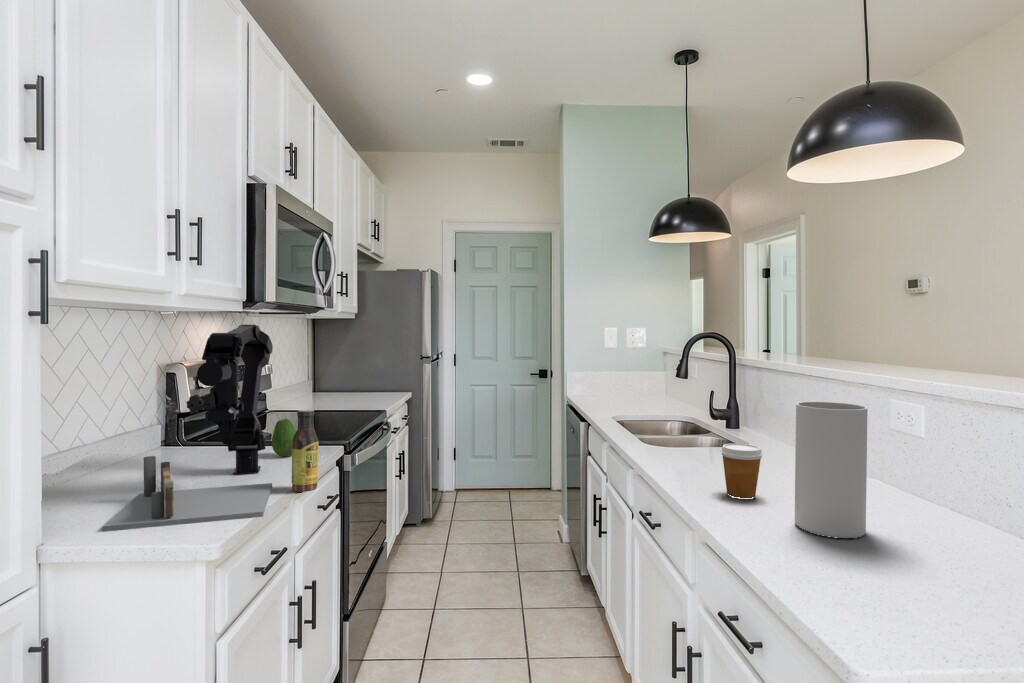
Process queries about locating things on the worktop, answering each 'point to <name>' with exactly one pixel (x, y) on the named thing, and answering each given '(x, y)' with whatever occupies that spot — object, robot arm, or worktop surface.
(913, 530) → the worktop surface
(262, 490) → the gate frame
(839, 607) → the worktop surface
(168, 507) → the gate
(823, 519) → the cylinder vase
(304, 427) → the sauce bottle
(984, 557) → the worktop surface
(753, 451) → the disposable coffee cup
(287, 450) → the avocado
